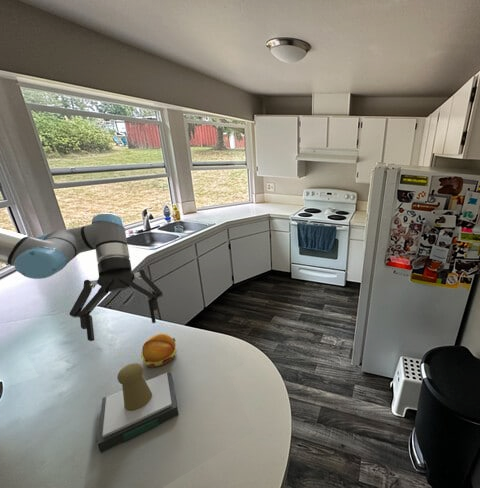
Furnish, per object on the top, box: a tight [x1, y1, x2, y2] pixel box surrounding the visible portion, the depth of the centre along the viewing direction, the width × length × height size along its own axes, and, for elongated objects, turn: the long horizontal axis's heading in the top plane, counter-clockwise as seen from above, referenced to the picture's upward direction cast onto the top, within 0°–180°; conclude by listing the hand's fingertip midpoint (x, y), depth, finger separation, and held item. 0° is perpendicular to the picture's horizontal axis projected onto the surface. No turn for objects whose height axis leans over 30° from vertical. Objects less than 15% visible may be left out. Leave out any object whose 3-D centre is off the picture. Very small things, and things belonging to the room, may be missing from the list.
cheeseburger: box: [141, 333, 178, 368], centre depth 83 cm, size 10×11×10 cm
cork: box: [117, 362, 152, 411], centre depth 65 cm, size 6×6×11 cm
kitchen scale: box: [96, 371, 180, 453], centre depth 67 cm, size 16×14×4 cm
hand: (124, 330), depth 68 cm, fingers open, 13 cm apart
